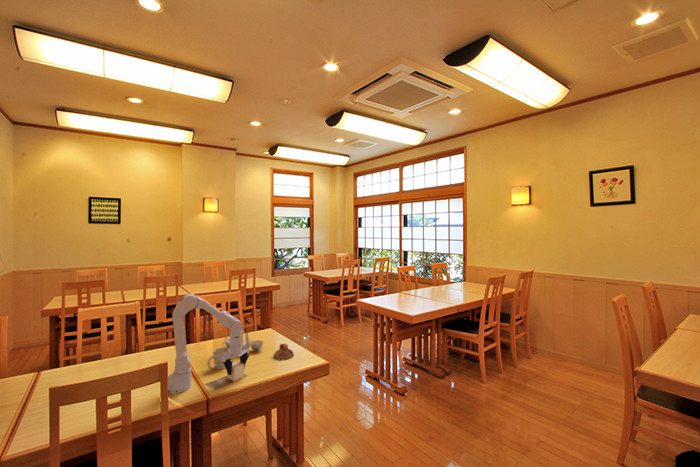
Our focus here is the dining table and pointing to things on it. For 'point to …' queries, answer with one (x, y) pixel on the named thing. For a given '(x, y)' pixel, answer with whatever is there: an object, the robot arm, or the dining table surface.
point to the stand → (221, 382)
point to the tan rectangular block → (236, 371)
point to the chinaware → (254, 344)
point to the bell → (283, 352)
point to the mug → (218, 357)
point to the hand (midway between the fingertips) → (235, 371)
